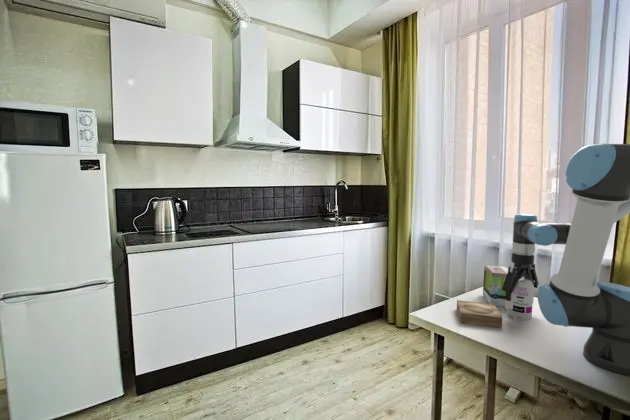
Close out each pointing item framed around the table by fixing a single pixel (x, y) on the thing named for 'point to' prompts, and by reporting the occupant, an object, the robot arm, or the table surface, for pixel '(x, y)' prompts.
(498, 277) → the tea box
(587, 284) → the robot arm
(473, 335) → the table surface
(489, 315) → the walnut base
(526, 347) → the table surface
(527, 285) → the supplement can
